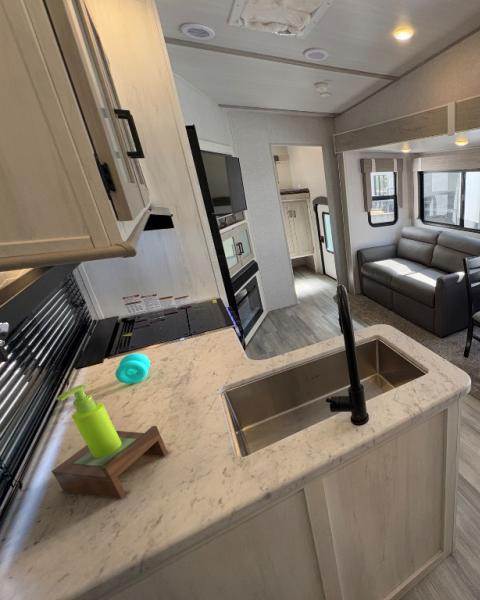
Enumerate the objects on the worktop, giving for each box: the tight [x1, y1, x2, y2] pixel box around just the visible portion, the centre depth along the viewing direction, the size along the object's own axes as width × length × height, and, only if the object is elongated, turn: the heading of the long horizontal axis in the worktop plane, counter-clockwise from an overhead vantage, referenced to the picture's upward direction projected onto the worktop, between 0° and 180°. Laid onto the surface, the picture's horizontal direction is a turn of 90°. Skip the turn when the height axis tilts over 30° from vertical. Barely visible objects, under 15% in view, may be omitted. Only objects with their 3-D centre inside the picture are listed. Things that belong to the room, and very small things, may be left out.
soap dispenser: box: [54, 384, 122, 458], centre depth 79 cm, size 6×7×20 cm
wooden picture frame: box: [51, 425, 169, 499], centre depth 84 cm, size 18×14×10 cm
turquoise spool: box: [114, 353, 151, 385], centre depth 128 cm, size 10×10×10 cm
